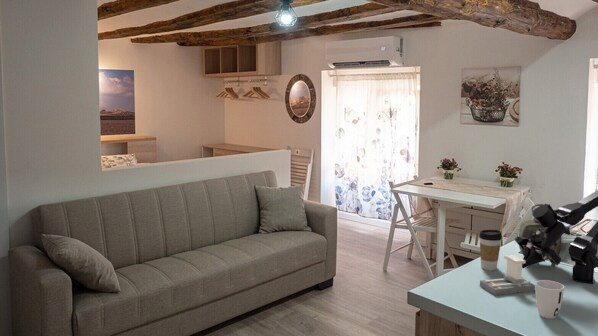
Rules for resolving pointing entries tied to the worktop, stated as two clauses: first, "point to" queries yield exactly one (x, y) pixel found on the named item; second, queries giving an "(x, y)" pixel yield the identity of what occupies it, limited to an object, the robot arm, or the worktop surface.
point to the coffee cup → (489, 248)
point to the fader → (514, 269)
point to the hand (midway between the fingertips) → (521, 267)
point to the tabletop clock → (536, 226)
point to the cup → (549, 298)
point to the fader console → (505, 286)
